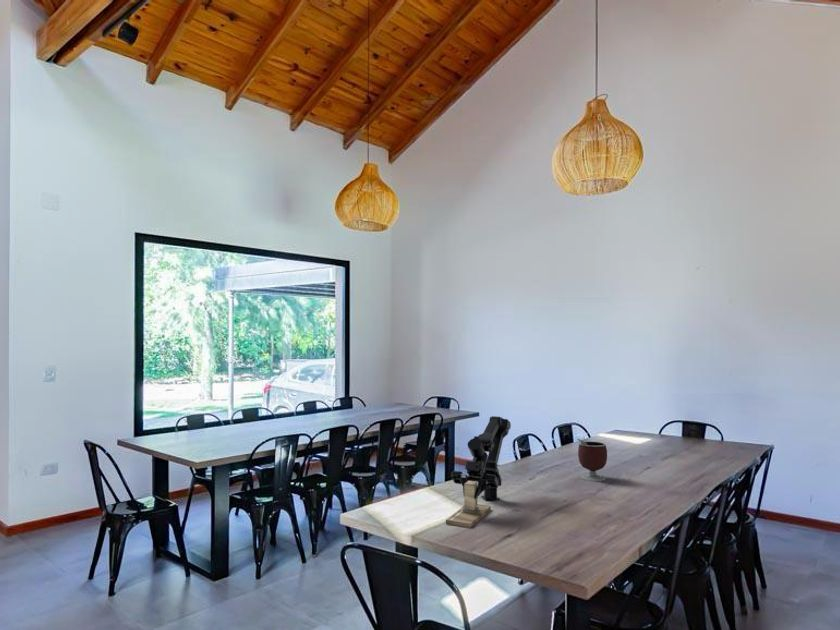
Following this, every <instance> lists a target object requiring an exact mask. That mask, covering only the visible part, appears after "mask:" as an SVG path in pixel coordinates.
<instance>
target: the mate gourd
mask: <svg viewBox="0 0 840 630" xmlns="http://www.w3.org/2000/svg"><path fill="white" fill-rule="evenodd" d="M576 440H577V441H579V443H578V449H577V454H578V461H579V464H580V465H581V467H582V468H584V469H586V470H588V471H589V473H584V474H583V473H582V474H580V477H581V478H582V479H581V478H580V477H579V478H580V479H581V480H583V479H585V481H588V480H591V481H590V482H603V481H602V480H604V481H606V480H605V479H607V478H606V476H604V475H601V474H597V471H599V470H602V469H604V467H605V466H606V465H607V460H608V449H607V448H608V447H607V444H606V443H604V442H603V441H602V442H601V441H592V440H591V441H587V440H586V441H584V440H583V439H580V438H577V439H576Z"/></svg>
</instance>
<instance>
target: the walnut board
mask: <svg viewBox="0 0 840 630" xmlns="http://www.w3.org/2000/svg"><path fill="white" fill-rule="evenodd" d="M477 507H479V511H477V512H476V513H475V514H474V513H467V512H463V508H464V505H463V506H462V507H461V508H459V509H458V510H457V511H456V512H454V513H453V514H452V515H450V516H449V517H447V518H446V519H445V524H446V525H449V526H456V527H457V526H458V527H464V528H473V527H474V525H476V524H477V523H478V522H479V521H481V519H482V518H483V517H485V515H487V514H488V513H489V512H490V511H491V509H492V505H487V504H486V505H485V504H479V503H477Z"/></svg>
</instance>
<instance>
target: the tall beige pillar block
mask: <svg viewBox="0 0 840 630" xmlns="http://www.w3.org/2000/svg"><path fill="white" fill-rule="evenodd" d="M477 486H478V482H476V481H468V482H466V483H465V484H464V493H463V499H464V501H463V502H464V504H463V506H464V508H463V512H467V513H474V514H475V513H476V512H477V511H479V507H477V504H478V497H477V498H476V499H474V496H475V492H476V489H477Z"/></svg>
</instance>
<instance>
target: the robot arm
mask: <svg viewBox="0 0 840 630" xmlns="http://www.w3.org/2000/svg"><path fill="white" fill-rule="evenodd" d="M487 423H488V424H487V425H486V427H485V429H484V431H483V433H481V434H479V435H478V436H476V435H475V436H474V437H473V438H471V439H470V440H468V441H467V448H468V450H469V451H470V452H469V453H470V455H471V457H472V461H471V460H466V461H465V466H464V470H466V474H465V473H463V471H462V470H461V471H459V470H453V471H451V474H450V477H451V479H452V481H453V483H455V484H458V485H461V486H462V489H463V490H462V492H463V494H464V484H465V483H466V482H468V481H470V482H477V489H476V492H475V496H474V499H476V498H477V499H478V497H479V496H480V497H481V498H482V499H483V500H485V501H487V502H489V501H490V502H491V501H500V500H501V498H500V497H498V487H501V486H502V482H503V480H502V477H501V475H500V471H499V467H498V463H499V458H500V454H501V450H502V444H503V441H504V438H505V437H507V436H508V434H509V432H510V430H511V426H512V425H511V421H509V419H508V418H503V417H500V416H493V415H492V416H490V417H489V421H488V422H487ZM482 493H483V495H481V494H482Z"/></svg>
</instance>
